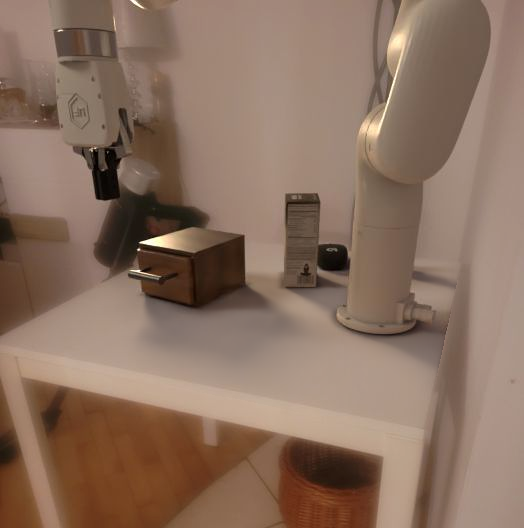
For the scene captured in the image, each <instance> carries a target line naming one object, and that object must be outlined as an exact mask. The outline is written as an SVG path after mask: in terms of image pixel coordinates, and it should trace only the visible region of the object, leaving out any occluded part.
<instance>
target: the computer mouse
mask: <svg viewBox="0 0 524 528" xmlns="http://www.w3.org/2000/svg"><path fill="white" fill-rule="evenodd" d="M348 259H349V251H348V248H347V246H346V245H344V244H342V243H341V244H340V243H332V242H327V243H320V244H319V243H318V259H317V268H320V269H322V270H325V271H339V270H343V269H344V268H345V267H346V266H347V264H348Z"/></svg>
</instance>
